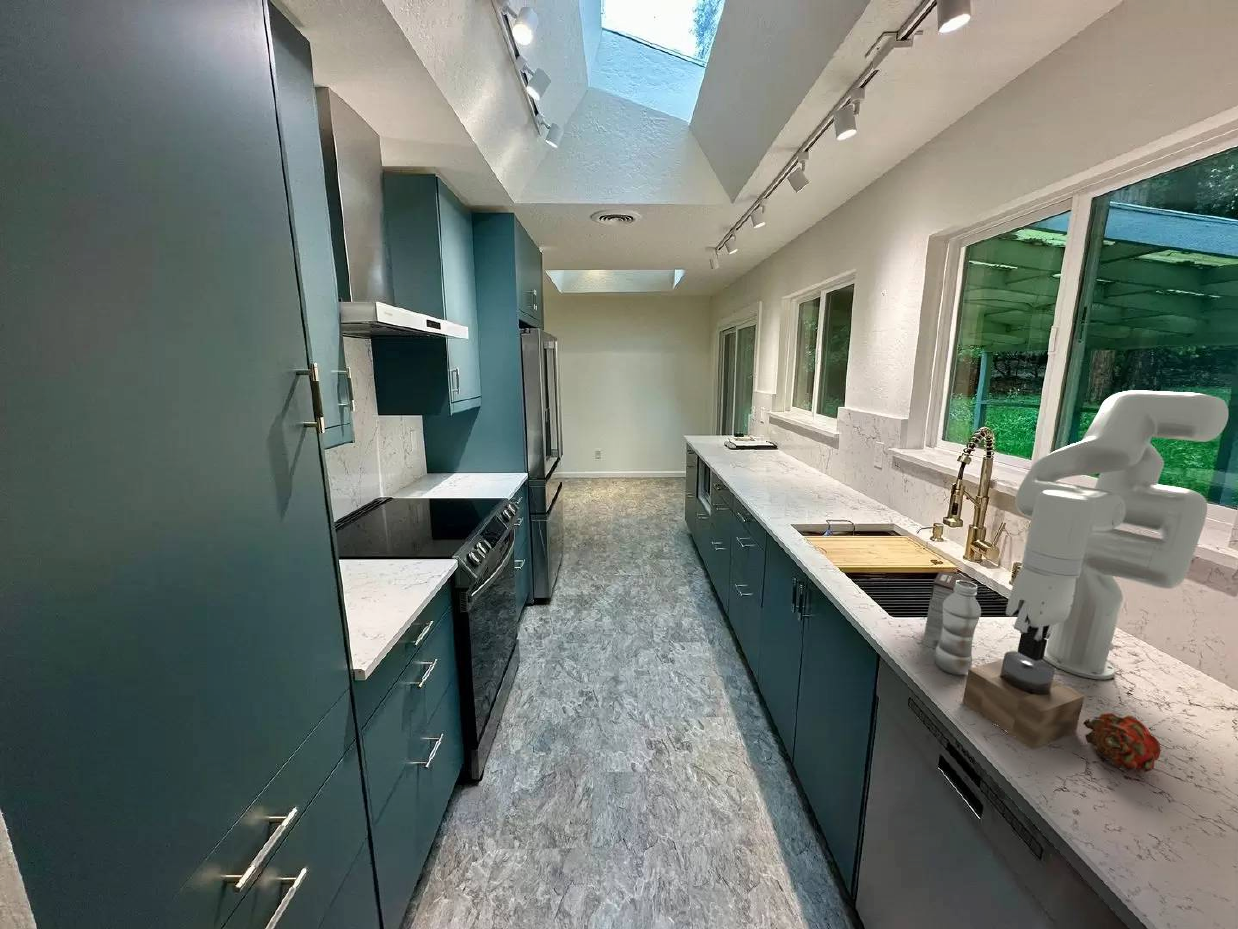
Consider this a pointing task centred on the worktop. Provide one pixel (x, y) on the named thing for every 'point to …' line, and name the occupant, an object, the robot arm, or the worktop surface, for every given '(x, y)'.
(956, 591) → the plastic bottle
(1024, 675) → the grey metal cylinder
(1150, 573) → the robot arm
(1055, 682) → the hitch block
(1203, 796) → the worktop surface
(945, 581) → the coffee box
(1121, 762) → the dragon fruit
